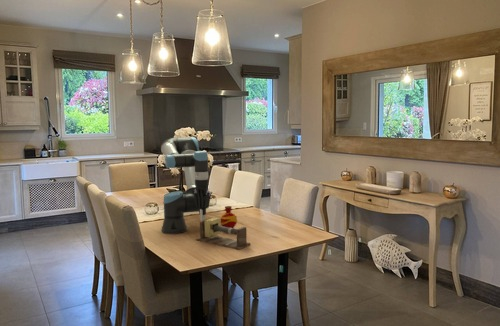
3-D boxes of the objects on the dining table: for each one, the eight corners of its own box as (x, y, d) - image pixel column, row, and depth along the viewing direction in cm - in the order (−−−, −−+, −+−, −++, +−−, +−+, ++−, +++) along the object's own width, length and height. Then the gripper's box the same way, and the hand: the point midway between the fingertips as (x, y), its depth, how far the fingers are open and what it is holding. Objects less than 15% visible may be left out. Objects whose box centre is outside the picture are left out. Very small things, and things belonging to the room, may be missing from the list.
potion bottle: (222, 234, 236) (221, 209, 235) (218, 229, 246) (218, 205, 245) (239, 232, 239) (239, 207, 237) (235, 228, 249) (235, 204, 247)
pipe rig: (196, 240, 226) (196, 222, 225) (208, 235, 234) (208, 218, 233) (239, 250, 208) (238, 231, 207) (250, 244, 216) (250, 226, 215)
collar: (204, 236, 222) (204, 220, 221) (215, 232, 230) (215, 217, 229) (210, 237, 220) (210, 221, 219) (221, 233, 227) (220, 218, 226)
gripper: (188, 178, 226) (189, 220, 229) (205, 180, 219) (206, 223, 221) (197, 177, 232) (198, 217, 235) (214, 179, 225) (215, 220, 227)
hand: (202, 220), depth 228 cm, fingers closed
